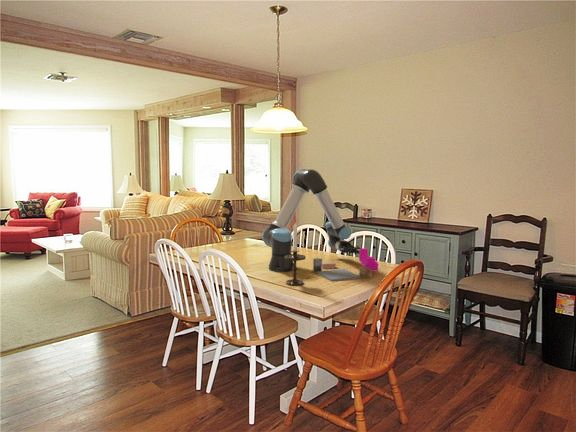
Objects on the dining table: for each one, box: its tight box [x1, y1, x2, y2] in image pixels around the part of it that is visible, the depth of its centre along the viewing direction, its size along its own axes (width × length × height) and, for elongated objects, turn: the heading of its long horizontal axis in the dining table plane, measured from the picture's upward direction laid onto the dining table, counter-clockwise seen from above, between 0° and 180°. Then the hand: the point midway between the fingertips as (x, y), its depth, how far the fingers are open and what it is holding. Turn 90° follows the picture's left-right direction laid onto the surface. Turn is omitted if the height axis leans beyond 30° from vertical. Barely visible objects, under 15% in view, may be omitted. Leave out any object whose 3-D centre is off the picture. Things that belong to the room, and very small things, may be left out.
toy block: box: [358, 247, 379, 272], centre depth 242 cm, size 15×6×8 cm, turn 8°
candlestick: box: [285, 217, 306, 287], centre depth 215 cm, size 11×11×35 cm
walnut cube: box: [358, 266, 373, 280], centre depth 231 cm, size 5×5×5 cm
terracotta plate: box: [322, 261, 336, 269], centre depth 253 cm, size 8×5×3 cm, turn 100°
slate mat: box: [316, 268, 362, 282], centre depth 234 cm, size 18×18×1 cm
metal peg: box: [312, 257, 323, 273], centre depth 244 cm, size 5×5×7 cm
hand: (363, 253), depth 246 cm, fingers closed
